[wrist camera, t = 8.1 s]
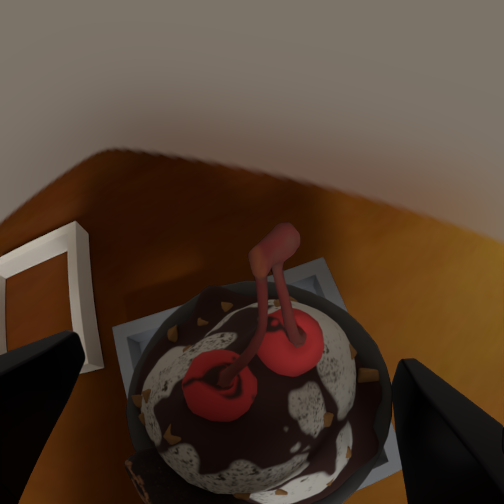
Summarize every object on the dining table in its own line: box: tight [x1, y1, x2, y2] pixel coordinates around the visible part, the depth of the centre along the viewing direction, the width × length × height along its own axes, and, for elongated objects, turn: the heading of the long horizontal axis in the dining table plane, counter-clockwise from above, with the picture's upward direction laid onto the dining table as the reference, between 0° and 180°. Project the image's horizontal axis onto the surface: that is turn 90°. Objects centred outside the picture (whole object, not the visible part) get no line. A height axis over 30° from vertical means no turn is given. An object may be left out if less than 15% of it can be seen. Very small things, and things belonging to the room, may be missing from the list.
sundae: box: [125, 222, 393, 504], centre depth 9 cm, size 7×7×15 cm
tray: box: [112, 257, 402, 491], centre depth 15 cm, size 13×13×2 cm
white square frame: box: [0, 221, 105, 374], centre depth 19 cm, size 11×11×2 cm
